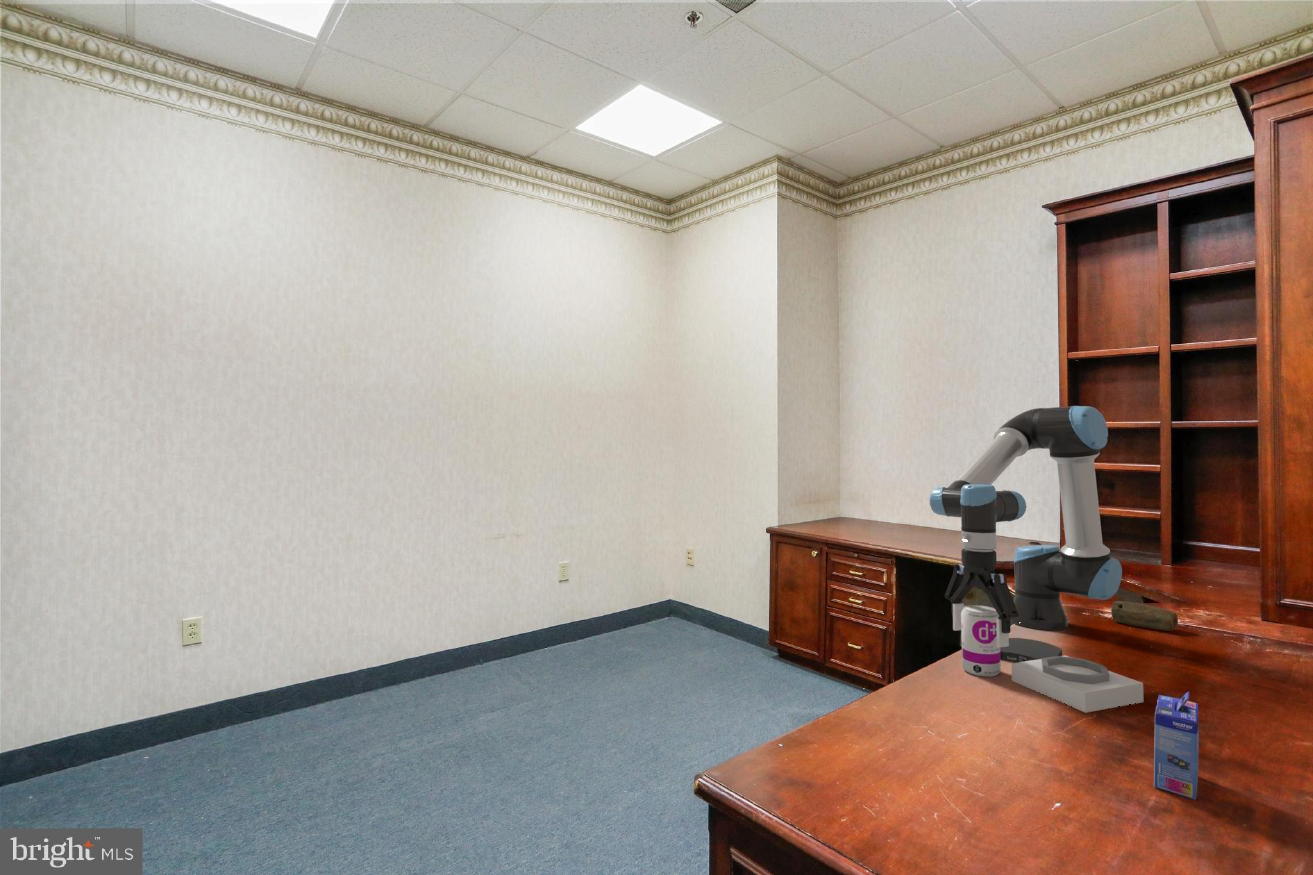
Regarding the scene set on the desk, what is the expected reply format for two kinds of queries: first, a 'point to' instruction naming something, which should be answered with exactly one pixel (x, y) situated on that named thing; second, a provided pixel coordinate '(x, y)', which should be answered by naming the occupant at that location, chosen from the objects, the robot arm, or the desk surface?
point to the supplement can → (980, 641)
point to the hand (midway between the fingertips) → (979, 637)
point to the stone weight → (1144, 616)
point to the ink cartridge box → (1176, 746)
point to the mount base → (1078, 683)
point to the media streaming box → (1028, 650)
